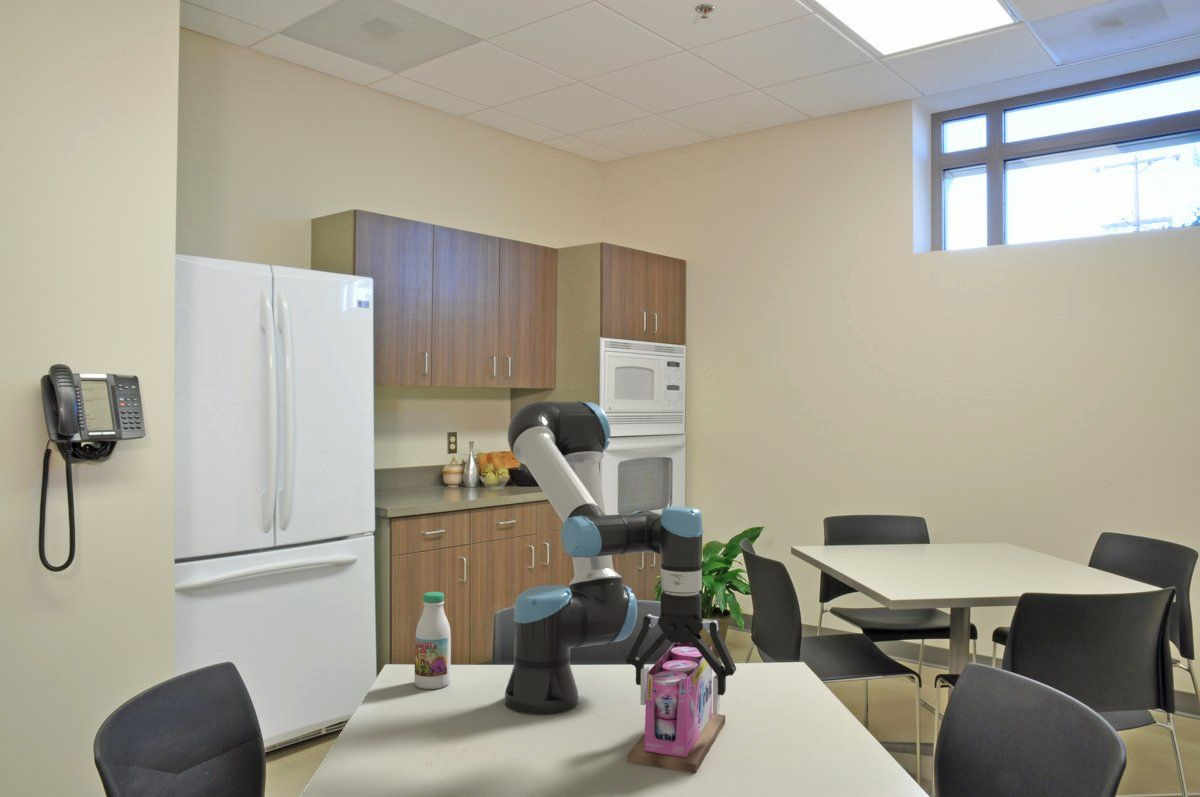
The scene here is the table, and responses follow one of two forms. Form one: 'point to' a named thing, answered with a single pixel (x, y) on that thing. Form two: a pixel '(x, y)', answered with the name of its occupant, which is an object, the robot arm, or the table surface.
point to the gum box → (677, 700)
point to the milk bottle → (432, 644)
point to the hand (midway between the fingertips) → (679, 707)
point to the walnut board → (678, 762)
